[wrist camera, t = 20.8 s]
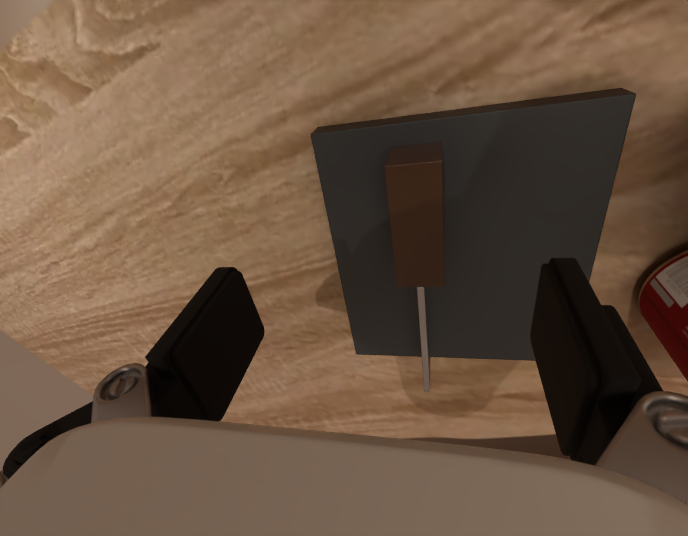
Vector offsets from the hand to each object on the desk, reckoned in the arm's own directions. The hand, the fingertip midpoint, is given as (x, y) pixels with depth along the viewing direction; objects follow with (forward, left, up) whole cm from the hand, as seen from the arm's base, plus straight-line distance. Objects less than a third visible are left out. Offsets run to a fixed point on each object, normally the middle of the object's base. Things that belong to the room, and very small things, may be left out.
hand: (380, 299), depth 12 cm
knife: (+6, +1, -11) cm, 12 cm away
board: (+6, +3, -12) cm, 13 cm away
